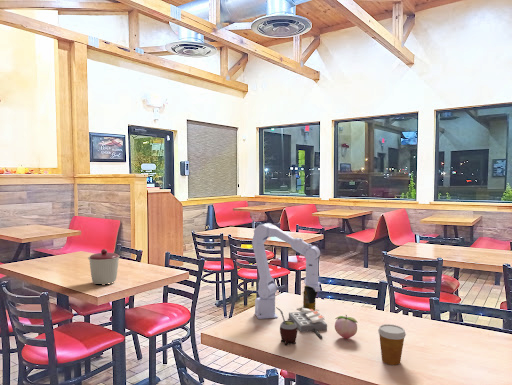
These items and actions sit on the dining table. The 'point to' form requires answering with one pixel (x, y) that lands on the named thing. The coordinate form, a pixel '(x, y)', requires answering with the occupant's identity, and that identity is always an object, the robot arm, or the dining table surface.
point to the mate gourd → (288, 331)
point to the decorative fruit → (346, 326)
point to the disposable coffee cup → (391, 343)
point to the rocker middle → (312, 314)
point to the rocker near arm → (307, 310)
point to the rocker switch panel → (307, 323)
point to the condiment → (307, 302)
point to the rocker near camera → (317, 319)
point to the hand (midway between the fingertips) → (311, 302)
